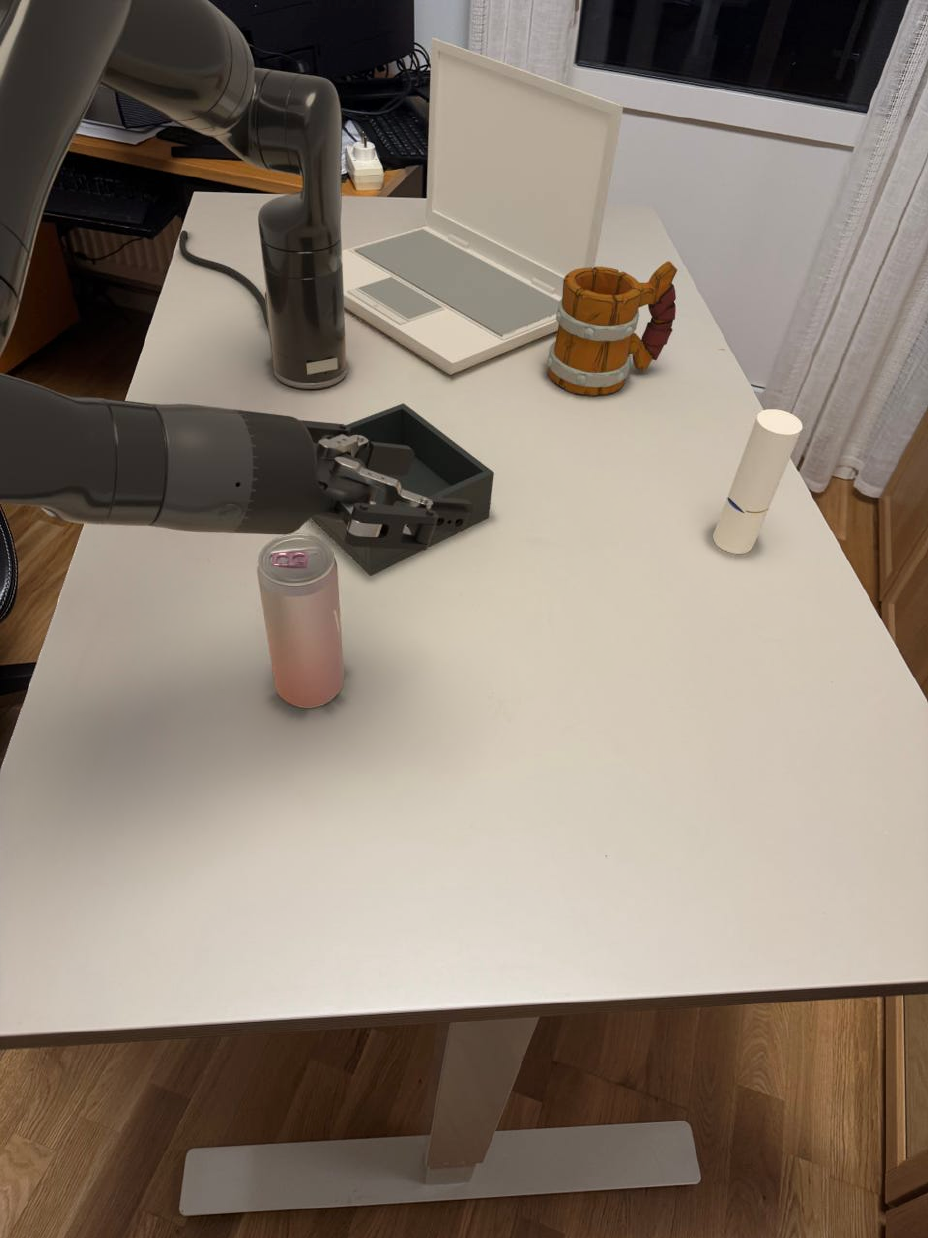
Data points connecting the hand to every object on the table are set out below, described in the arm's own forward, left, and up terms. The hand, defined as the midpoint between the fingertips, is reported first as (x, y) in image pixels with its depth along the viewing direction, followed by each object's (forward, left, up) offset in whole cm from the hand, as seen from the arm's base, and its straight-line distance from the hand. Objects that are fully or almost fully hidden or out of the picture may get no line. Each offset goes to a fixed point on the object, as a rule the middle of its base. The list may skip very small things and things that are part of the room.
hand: (437, 487), depth 61 cm
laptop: (-54, +44, -20) cm, 73 cm away
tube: (+6, +37, -20) cm, 43 cm away
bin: (-20, +10, -20) cm, 30 cm away
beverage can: (-4, -10, -20) cm, 23 cm away
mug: (-26, +50, -20) cm, 60 cm away
